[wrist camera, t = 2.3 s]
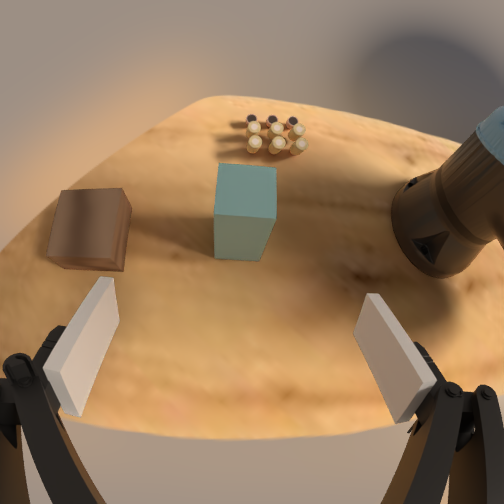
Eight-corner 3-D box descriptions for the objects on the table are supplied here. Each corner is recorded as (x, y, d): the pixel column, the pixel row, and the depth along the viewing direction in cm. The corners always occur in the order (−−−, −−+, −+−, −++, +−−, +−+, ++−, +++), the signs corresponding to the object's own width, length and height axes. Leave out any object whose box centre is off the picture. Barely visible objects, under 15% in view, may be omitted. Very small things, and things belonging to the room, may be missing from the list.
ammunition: (310, 147, 36) (301, 103, 38) (249, 144, 35) (246, 99, 37) (301, 168, 40) (294, 125, 43) (245, 167, 39) (244, 123, 42)
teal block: (260, 221, 37) (276, 167, 26) (259, 261, 35) (276, 218, 25) (217, 217, 36) (218, 162, 26) (214, 258, 34) (213, 214, 24)
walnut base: (132, 209, 36) (122, 188, 31) (124, 272, 33) (110, 258, 28) (76, 209, 35) (61, 190, 30) (65, 269, 32) (46, 255, 27)
